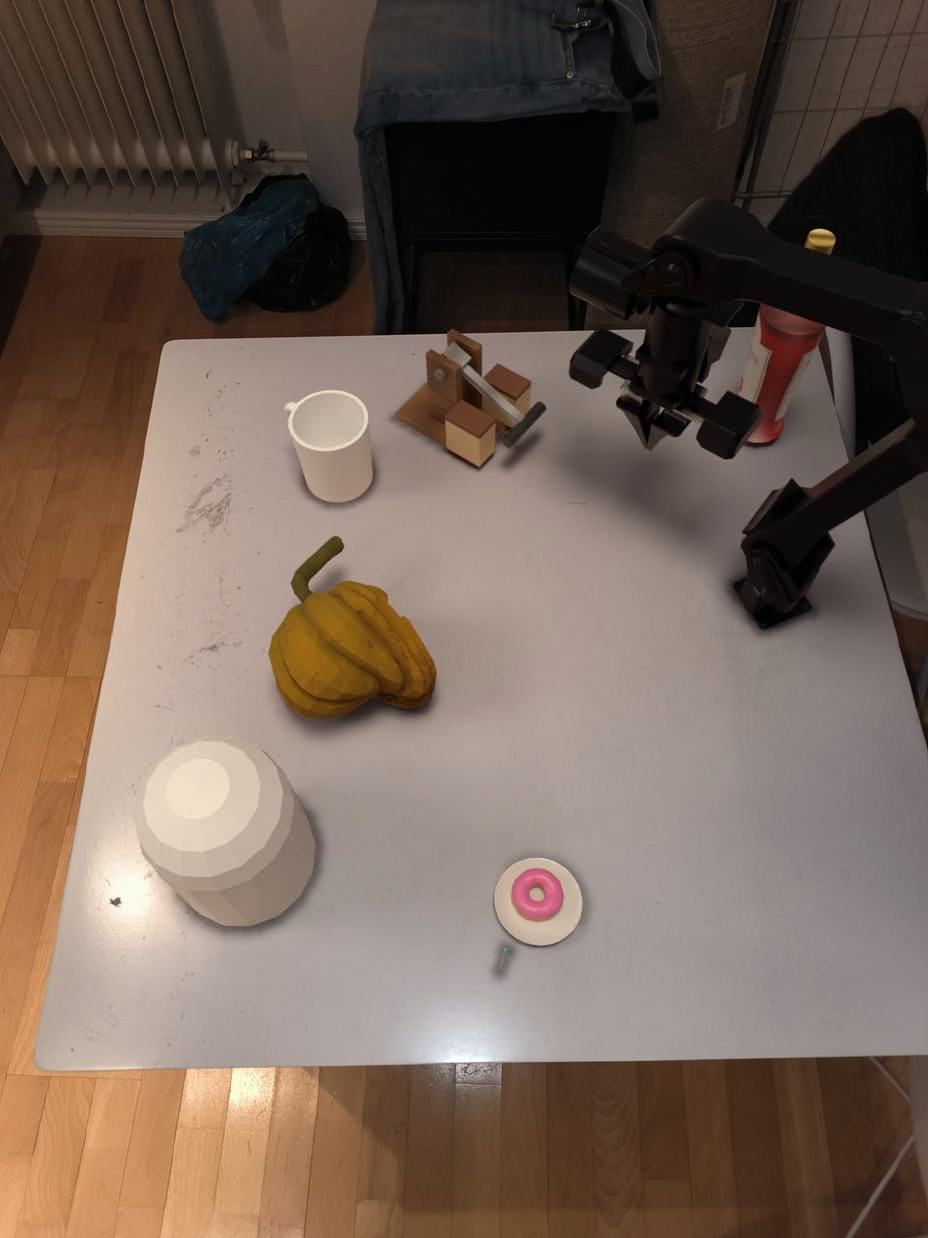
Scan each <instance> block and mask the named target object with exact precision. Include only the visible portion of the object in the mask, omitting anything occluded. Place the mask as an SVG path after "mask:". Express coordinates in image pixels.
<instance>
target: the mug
mask: <svg viewBox="0 0 928 1238" xmlns="http://www.w3.org/2000/svg"><path fill="white" fill-rule="evenodd" d="M283 416H284V420H285V422H286V424H287V426H288V430H289V433H290V436H291V439H292V442H293V446H294V449H295V452H296V455H297V458H298V461H299V463H300V467H301V470H302V474H303V476H304V479H305V483H306V485H307V488H308V490H309V491H310V493H311V494H312V495H313V496H314V497H316V498H317V499H319V500H320V501H323V502H325V503H329V504H337V505H338V504H346V503H349V502H352V501H355V500H357V499H358V498H360V497H362V496H363V495H364V494H365V493H366V492H367V491H368V490H369V488H370V487H371V485H372V482H373V479H374V472H373V471H374V469H373V458H372V457H373V456H372V447H371V445H372V443H371V435H370V434H371V433H370V420H369V412H368V410H367V408H366V404H364V403H363V401H361V399H360V398H358V397H357V396H356V395H354V394H352V393H350V392H346V391H344V390H337V389H326V390H320V391H316V392H312V393H310V394H309V395H308V394H307V396H304V397H303V398H302V399H301V400H299V401H298V402H296V401H290V402H287V403H285V405H284V407H283Z"/></svg>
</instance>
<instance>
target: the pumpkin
mask: <svg viewBox="0 0 928 1238" xmlns="http://www.w3.org/2000/svg"><path fill="white" fill-rule="evenodd" d="M344 549H345V544H344V542H343V540H342V538H341V537H339V536H338V535H333V536H331V537H329V539H328V540H327V541H326V542H324V544H322V545H321V546H320V547H319V549H317V550H316V551H315V552H314V553H313V554H311V555H310V556H309V557H307V559H306V560H305V561H304V562H303V563H302V564H301V565H300V566H299V567H297V569H296V570H295V571H294V574H293V577H292V578H291V581H290V585H291V588H292V591H293V593H294V595H295V596H296V597H297V598H298V600H299V601H300V603H298V604H296V605H294V606H293V607H292V608H290V609H289V610H288V612H287V613H286V615H285V617H284V618H283V621H282V622H281V623H280V625H279V626H278V628H276V630H275V632H274V633H273V635H272V636H271V640H270V644H269V648H268V657H269V661H270V666H271V669H272V674H273V676H274V678H275V679H274V680H275V685H276V690H277V692H278V694H279V695H280V697H281V698H282V700H283V702H284V704H285V705H286V707H287V708H289V709H290V710H291V711H293V712H294V713H296V714H298V715H299V716H301V717H302V718H309V719H315V720H321V719H329V718H330V719H331V718H337V717H341V716H346V715H347V714H348V713H350V712H352V711H353V710H355V709H357V708H358V707H360V706H361V705H362V704H365V702H368V701H371V700H372V699H374V700H381V699H384V702H385V704H387V705H389V706H392V707H393V706H397V707H398V708H400V709H402V710H408V709H412V708H417V707H422V706H424V705H425V704H426V703H427V702H428V701H430V700H431V699H432V697H433V694H434V691H435V690H436V681H437V674H438V670H437V668H436V665H435V661H434V659H433V657H432V655H431V654H430V652H429V650H428V648H427V647H426V645H425V643H424V641H423V640H422V638H421V637H420V636H419V633H418V632H417V630H416V629H415V627H414V625H413V624H412V621H410V620H409V618H407V616H405V615H402V616H400V615H399V614H398V613H397V611H396V610H395V608H393V607H392V605H391V604H390V603H389V596H388V595H389V594H388V593H387V592H386V591H385V590H384V589H382V588H381V587H379V586H375V585H370V584H364V583H362V582H357V581H352V580H342V581H339V582H337V583H336V584H334V585H332V587H331V588H330V589H328V590H327V591H326V592H323V591H315V592H313V591H312V590H311V589H310V588H309V584H310V581H311V580H312V579H313V578H314V577H315V576H316V575H317V574H319V572H320V571H321V570H323V568H324V567H325V566H326V565H327V564H328V563H329V562H330V561H331V560H332V559H333V558H335V557H336V556H338V555H339V554H341V553H342V552H343V551H344Z"/></svg>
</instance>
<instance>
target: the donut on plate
mask: <svg viewBox="0 0 928 1238" xmlns="http://www.w3.org/2000/svg"><path fill="white" fill-rule="evenodd" d="M494 889H495V890H494V897H493V900H494V901H493V902H494V909H495V913H496V915H497V918H498V920H499V922H500V924H501V925H502V927H503V928H504V929H505V930H506V931H507V933H509V934H510V935H511V936H513V938H514V939H517V940H518V941H521V942H522V943H525V944H528V945H532V946H549V945H553V944H556V943H560V942H561V941H563V940H565V939H566V938H567V937H568V936H569V935H570V934H572V933H573V931H574V930H575V929H576V927H577V926H578V924H579V923H580V919H581V917H582V913H583V895H582V891H581V888H580V886H579V883H578V882H577V880H576V878H575V877H574V876H573V874H571V872H570V871H569V870H568V869H567V868H566V867H564V866H563V865H562V864H560V863H558V862H556V861H555V860H551V859H548V858H545V857H527V858H524V859H521V860H518V861H516V862H514V863H513V864H511V865H509V867H507V868H506V869H505V870H504V872H503V873H502V874H501V875H500V877H499V879H498V881H497V883H496V886H495V888H494ZM503 950H504V952H508V951H509V949H508V947H504V949H503ZM504 958H505V955H503V958H502V961H501V964H503V961H504ZM498 969H500V970H501V967H499V968H498Z"/></svg>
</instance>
